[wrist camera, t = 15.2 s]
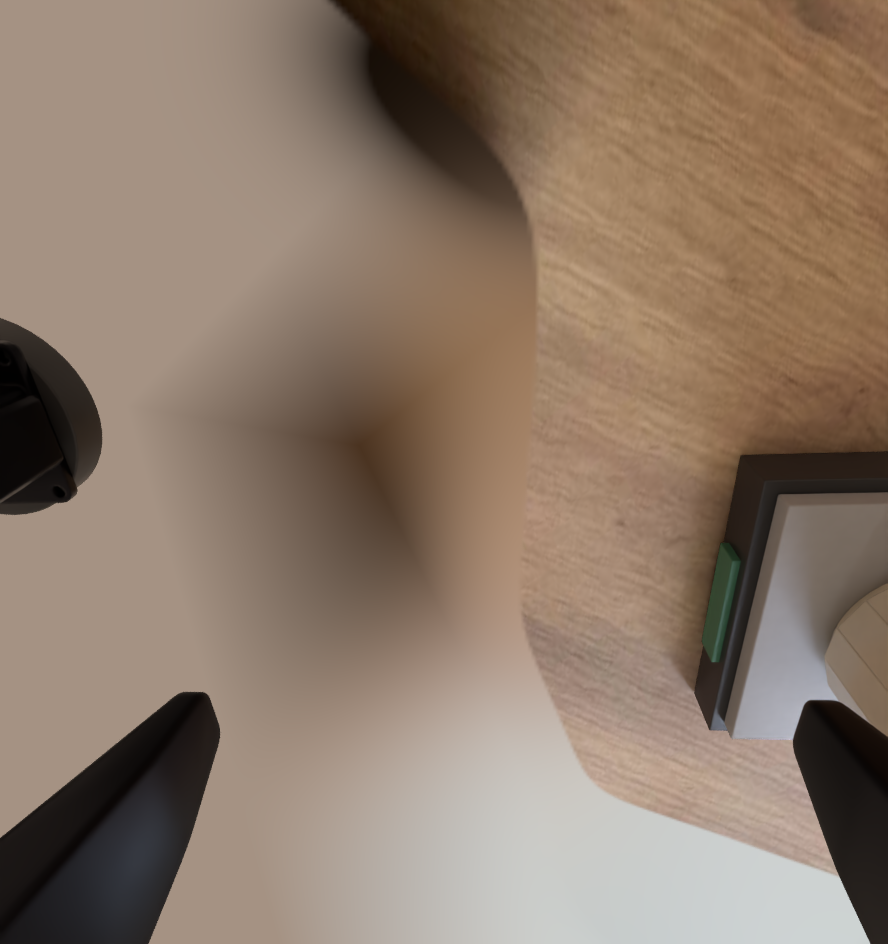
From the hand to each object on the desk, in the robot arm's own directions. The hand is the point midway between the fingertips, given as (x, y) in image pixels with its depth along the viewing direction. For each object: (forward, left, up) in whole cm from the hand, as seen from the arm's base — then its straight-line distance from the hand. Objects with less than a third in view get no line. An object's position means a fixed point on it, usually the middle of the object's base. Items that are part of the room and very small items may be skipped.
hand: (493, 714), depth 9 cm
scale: (+15, -8, -13) cm, 21 cm away
